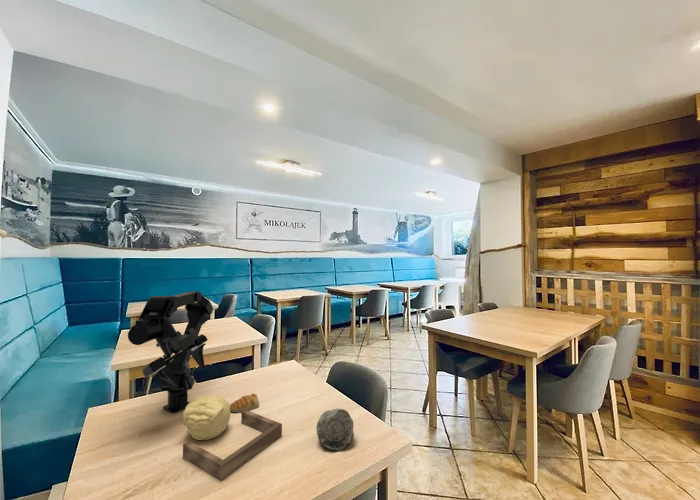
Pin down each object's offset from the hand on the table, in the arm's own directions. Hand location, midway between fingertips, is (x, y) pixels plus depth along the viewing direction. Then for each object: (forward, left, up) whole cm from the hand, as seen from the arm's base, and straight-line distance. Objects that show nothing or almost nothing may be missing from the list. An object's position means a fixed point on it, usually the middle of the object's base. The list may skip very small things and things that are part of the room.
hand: (191, 377), depth 93 cm
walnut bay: (+20, 0, -14) cm, 25 cm away
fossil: (+43, +16, -15) cm, 48 cm away
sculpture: (+9, 0, -15) cm, 17 cm away
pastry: (+7, +16, -15) cm, 23 cm away
